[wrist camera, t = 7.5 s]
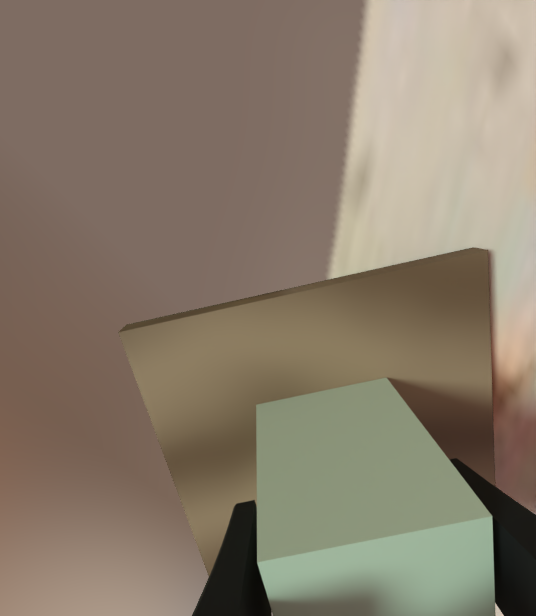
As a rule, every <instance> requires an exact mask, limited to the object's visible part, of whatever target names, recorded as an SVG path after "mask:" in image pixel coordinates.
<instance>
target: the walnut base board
mask: <svg viewBox="0 0 536 616" xmlns="http://www.w3.org/2000/svg"><path fill="white" fill-rule="evenodd" d="M118 333H119V336H120V338H121V341H122V344H123V346H124V349H125V352H126V355H127V357H128V360H129V363H130V365H131V368H132V370H133V373H134V376H135V379H136V382H137V384H138V387H139V390H140V392H141V395H142V397H143V400H144V403H145V406H146V408H147V411H148V414H149V417H150V419H151V422H152V424H153V427H154V430H155V433H156V435H157V438H158V441H159V443H160V446H161V449H162V452H163V454H164V457H165V460H166V462H167V465H168V468H169V470H170V473H171V476H172V478H173V481H174V484H175V487H176V489H177V492H178V494H179V497H180V500H181V503H182V505H183V508H184V511H185V513H186V516H187V519H188V521H189V524H190V527H191V530H192V532H193V535H194V537H195V540H196V543H197V545H198V548H199V551H200V554H201V556H202V559H203V562H204V565H205V567H206V570H207V572H208V575H209V576H210V574H211V571H212V568H213V566H214V563H215V561H216V558H217V556H218V553H219V550H220V548H221V545H222V542H223V539H224V537H225V534H226V531H227V528H228V525H229V521H230V518H231V515H232V511H233V508H234V506H235V505H236V504H237V503H242V502H247V501H252V500H255V503H256V506H257V440H256V405H258V404H262V403H267V402H272V401H277V400H281V399H286V398H291V397H296V396H300V395H305V394H310V393H315V392H319V391H324V390H329V389H334V388H339V387H343V386H348V385H353V384H358V383H362V382H367V381H372V380H377V379H382V378H387V379H388V380H389V382H390V383H391V384H392V385H393V387H394V388H395V389H396V391H397V392H398V393H399V395H400V396H401V397H402V399H403V400H404V401H405V402H406V404H407V405H408V406H409V408H410V409H411V410H412V412H413V413H414V414H415V416H416V417H417V418H418V420H419V421H420V422H421V423H422V425H423V426H424V427H425V429H426V430H427V431H428V433H429V434H430V435H431V437H432V438H433V439H434V440H435V442H436V443H437V444H438V446H439V447H440V448H441V450H442V451H443V452H444V454H445V455H446V456H447V458H448V459H454V458H457V459H459V460H460V461H461V462H463V463H464V464H465V465H467V466H468V467H469V468H471V469H472V470H473V471H475V472H476V473H477V474H479V475H480V476H482V477H483V478H484V479H486V480H487V481H488V482H490V483H491V484H492V485H494V486H495V465H494V433H493V401H492V368H491V336H490V304H489V272H488V250H484V249H479V248H469V249H464V250H460V251H455V252H451V253H446V254H442V255H437V256H433V257H428V258H424V259H419V260H415V261H410V262H406V263H401V264H397V265H392V266H388V267H384V268H379V269H375V270H370V271H366V272H361V273H357V274H352V275H348V276H343V277H339V278H334V279H330V280H325V281H321V282H316V283H312V284H308V285H303V286H299V287H294V288H290V289H285V290H280V291H276V292H272V293H267V294H262V295H258V296H254V297H249V298H244V299H240V300H236V301H231V302H227V303H222V304H217V305H213V306H208V307H204V308H199V309H195V310H190V311H186V312H181V313H177V314H173V315H168V316H164V317H159V318H155V319H151V320H146V321H141V322H137V323H133V324H128V325H126V326H125V327H123V328H122V329H121V330H120V331H119V332H118Z"/></svg>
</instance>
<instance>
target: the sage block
mask: <svg viewBox="0 0 536 616" xmlns="http://www.w3.org/2000/svg"><path fill="white" fill-rule="evenodd" d="M256 440H257V564H258V567H259V570H260V574H261V577H262V580H263V583H264V587H265V590H266V593H267V597H268V600H269V603H270V606H271V610H272V613H273V616H495V588H494V555H493V523H492V515H491V514H490V513H489V511H488V510H487V509H486V507H485V506H484V505H483V503H482V502H481V501H480V499H479V498H478V497H477V496H476V494H475V493H474V492H473V490H472V489H471V488H470V486H469V485H468V484H467V482H466V481H465V480H464V478H463V477H462V476H461V475H460V473H459V472H458V471H457V469H456V468H455V467H454V465H453V464H452V463H451V461H450V460H449V459H448V458H447V456H446V455H445V454H444V452H443V451H442V450H441V448H440V447H439V446H438V444H437V443H436V442H435V440H434V439H433V438H432V437H431V435H430V434H429V433H428V431H427V430H426V429H425V427H424V426H423V425H422V423H421V422H420V421H419V420H418V418H417V417H416V416H415V414H414V413H413V412H412V410H411V409H410V408H409V406H408V405H407V404H406V402H405V401H404V400H403V399H402V397H401V396H400V395H399V393H398V392H397V391H396V389H395V388H394V387H393V385H392V384H391V383H390V382H389V380H388V379H387V378H382V379H377V380H372V381H367V382H362V383H358V384H353V385H348V386H343V387H339V388H334V389H329V390H324V391H319V392H315V393H310V394H305V395H300V396H296V397H291V398H286V399H281V400H277V401H272V402H267V403H262V404H258V405H256Z"/></svg>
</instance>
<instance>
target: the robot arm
mask: <svg viewBox="0 0 536 616" xmlns="http://www.w3.org/2000/svg"><path fill="white" fill-rule="evenodd" d="M449 460H450V461H451V463H452V464H453V465H454V467H455V468H456V469H457V471H458V472H459V473H460V475H461V476H462V477H463V478H464V480H465V481H466V482H467V484H468V485H469V486H470V488H471V489H472V490H473V492H474V493H475V494H476V496H477V497H478V498H479V499H480V501H481V502H482V503H483V505H484V506H485V507H486V509H487V510H488V511H489V513H490V514H491V515H492V523H493V555H494V588H495V603H496V604H497V606H498V607H499V609H500V610H501V612H502V613H503V615H504V616H536V515H535V514H534V513H532V512H531V511H529V510H528V509H526V508H525V507H523V506H522V505H521V504H519V503H518V502H516V501H515V500H513V499H512V498H510V497H509V496H508V495H506V494H505V493H503V492H502V491H501V490H499V489H498V488H497V487H495V486H494V485H492V484H491V483H490V482H488V481H487V480H486V479H484V478H483V477H482V476H480V475H479V474H477V473H476V472H475V471H473V470H472V469H471V468H469V467H468V466H467V465H465V464H464V463H463V462H461V461H460V460H459V459H457V458H454V459H449ZM192 616H271V606H270V603H269V600H268V597H267V593H266V590H265V587H264V583H263V580H262V577H261V574H260V570H259V567H258V564H257V506H256V503H255V500H252V501H247V502H242V503H237V504H236V505H235V506H234V508H233V511H232V515H231V518H230V521H229V525H228V528H227V531H226V534H225V537H224V539H223V542H222V545H221V548H220V550H219V553H218V556H217V558H216V561H215V563H214V566H213V568H212V571H211V574H210V576H209V578H208V581H207V583H206V585H205V588H204V590H203V592H202V594H201V597H200V599H199V601H198V604H197V606H196V608H195V610H194V612H193V615H192Z"/></svg>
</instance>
